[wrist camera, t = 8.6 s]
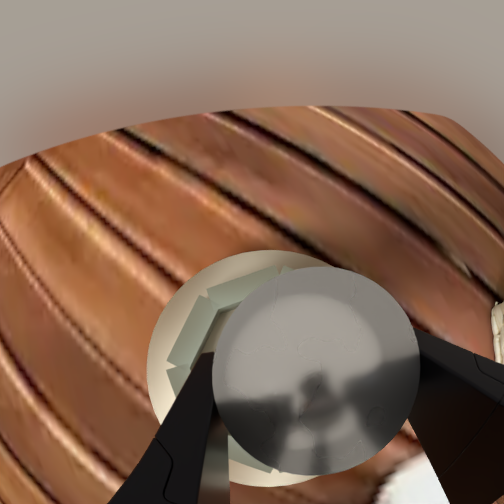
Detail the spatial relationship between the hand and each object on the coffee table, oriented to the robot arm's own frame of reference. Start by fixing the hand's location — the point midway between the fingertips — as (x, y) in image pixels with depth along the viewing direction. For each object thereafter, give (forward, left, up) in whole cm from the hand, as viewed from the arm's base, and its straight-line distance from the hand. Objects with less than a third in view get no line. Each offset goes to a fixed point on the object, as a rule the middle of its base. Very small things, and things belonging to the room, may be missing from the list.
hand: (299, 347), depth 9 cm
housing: (0, +1, -7) cm, 7 cm away
